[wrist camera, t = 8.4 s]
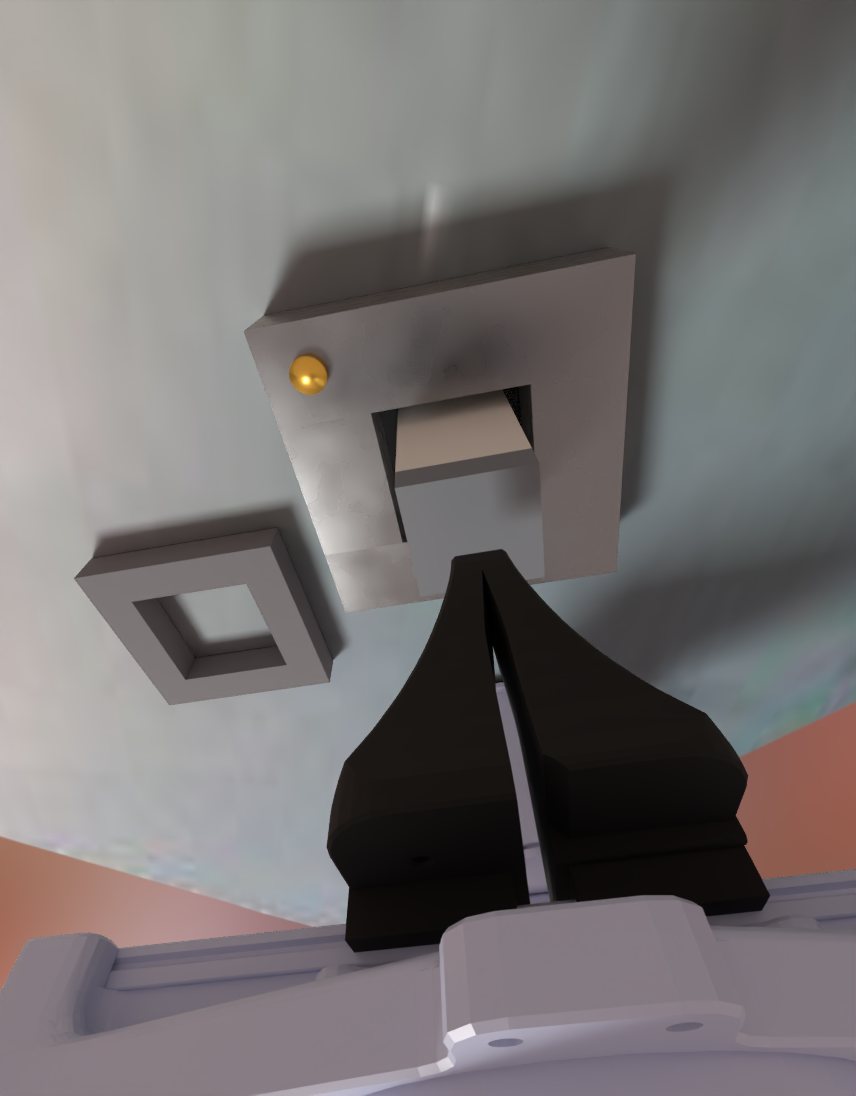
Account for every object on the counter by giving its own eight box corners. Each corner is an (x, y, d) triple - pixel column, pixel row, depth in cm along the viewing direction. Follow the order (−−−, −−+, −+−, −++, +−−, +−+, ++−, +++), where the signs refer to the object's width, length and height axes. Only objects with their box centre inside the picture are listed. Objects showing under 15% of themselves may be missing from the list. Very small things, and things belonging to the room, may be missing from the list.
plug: (507, 476, 21) (544, 577, 16) (417, 491, 22) (420, 596, 16) (499, 384, 19) (539, 463, 13) (398, 403, 19) (394, 488, 14)
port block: (597, 539, 23) (618, 575, 21) (351, 578, 24) (345, 617, 22) (607, 247, 17) (639, 254, 14) (263, 316, 17) (240, 333, 15)
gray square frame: (332, 660, 28) (329, 682, 26) (179, 683, 28) (169, 705, 27) (277, 527, 22) (269, 546, 21) (91, 558, 23) (74, 578, 22)
